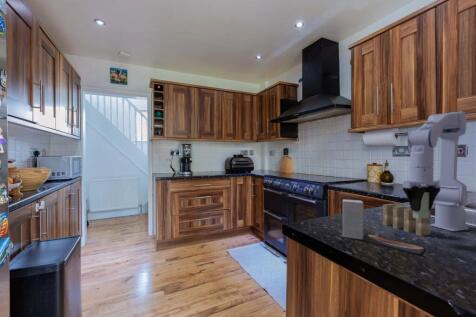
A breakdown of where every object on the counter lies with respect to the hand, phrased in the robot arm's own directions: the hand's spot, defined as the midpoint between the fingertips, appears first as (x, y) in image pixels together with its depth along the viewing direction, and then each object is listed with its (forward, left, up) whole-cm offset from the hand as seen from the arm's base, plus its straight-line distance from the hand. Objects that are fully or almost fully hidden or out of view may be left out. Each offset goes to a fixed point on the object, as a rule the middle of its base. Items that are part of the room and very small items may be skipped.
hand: (421, 209), depth 71 cm
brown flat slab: (+12, -1, -10) cm, 16 cm away
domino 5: (-8, -4, -10) cm, 13 cm away
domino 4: (0, 0, -2) cm, 2 cm away
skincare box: (+18, -10, -10) cm, 23 cm away
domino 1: (-8, -16, -10) cm, 20 cm away
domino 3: (-8, -8, -10) cm, 15 cm away
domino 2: (-8, -12, -10) cm, 17 cm away
